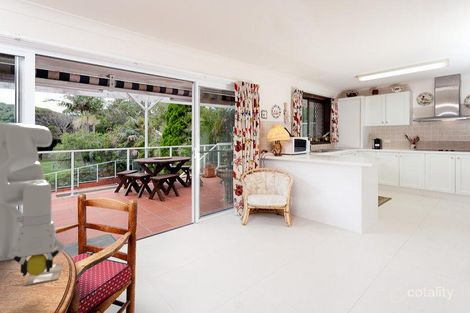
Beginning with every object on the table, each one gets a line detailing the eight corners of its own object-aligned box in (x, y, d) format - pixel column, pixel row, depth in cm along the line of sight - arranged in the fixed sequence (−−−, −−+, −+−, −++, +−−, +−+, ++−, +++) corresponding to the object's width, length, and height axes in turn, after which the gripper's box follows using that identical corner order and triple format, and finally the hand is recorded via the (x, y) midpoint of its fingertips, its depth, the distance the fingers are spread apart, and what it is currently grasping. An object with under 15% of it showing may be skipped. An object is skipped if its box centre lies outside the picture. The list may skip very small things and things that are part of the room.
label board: (33, 268, 99) (33, 267, 99) (63, 263, 104) (63, 262, 104) (23, 286, 87) (23, 285, 87) (58, 279, 91) (58, 278, 91)
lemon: (35, 281, 79) (35, 257, 79) (22, 279, 81) (22, 255, 80) (51, 273, 85) (51, 250, 85) (38, 271, 86) (38, 248, 86)
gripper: (-1, 226, 75) (-1, 284, 75) (66, 219, 83) (66, 271, 84) (7, 219, 81) (7, 272, 82) (69, 214, 90) (68, 262, 90)
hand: (37, 271), depth 83 cm, fingers closed on lemon, 5 cm apart
